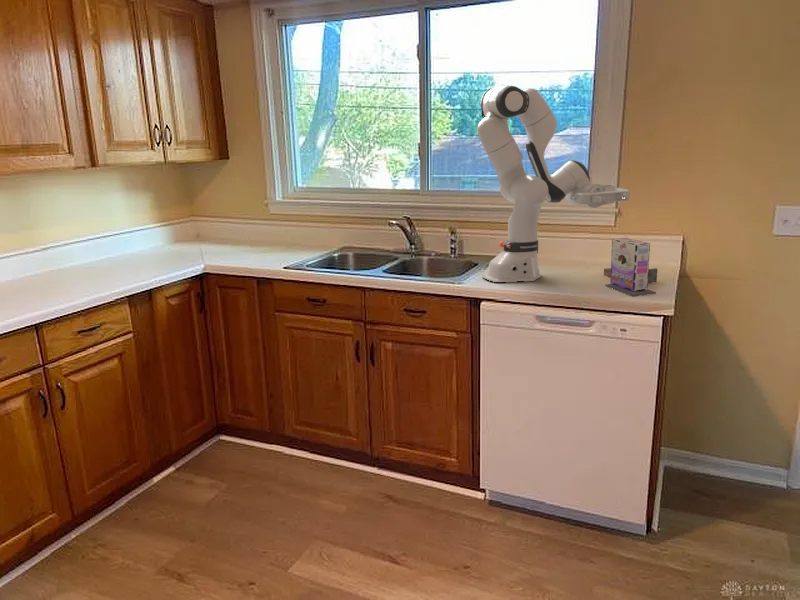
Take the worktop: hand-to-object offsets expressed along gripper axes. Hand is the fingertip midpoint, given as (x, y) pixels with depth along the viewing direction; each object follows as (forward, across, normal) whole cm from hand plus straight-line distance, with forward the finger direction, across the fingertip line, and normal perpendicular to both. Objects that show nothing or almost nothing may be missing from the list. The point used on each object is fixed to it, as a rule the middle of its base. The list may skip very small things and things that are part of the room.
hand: (614, 198), depth 220 cm
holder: (-2, +9, +31) cm, 32 cm away
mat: (+12, -1, +30) cm, 33 cm away
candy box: (+10, 0, +30) cm, 32 cm away
